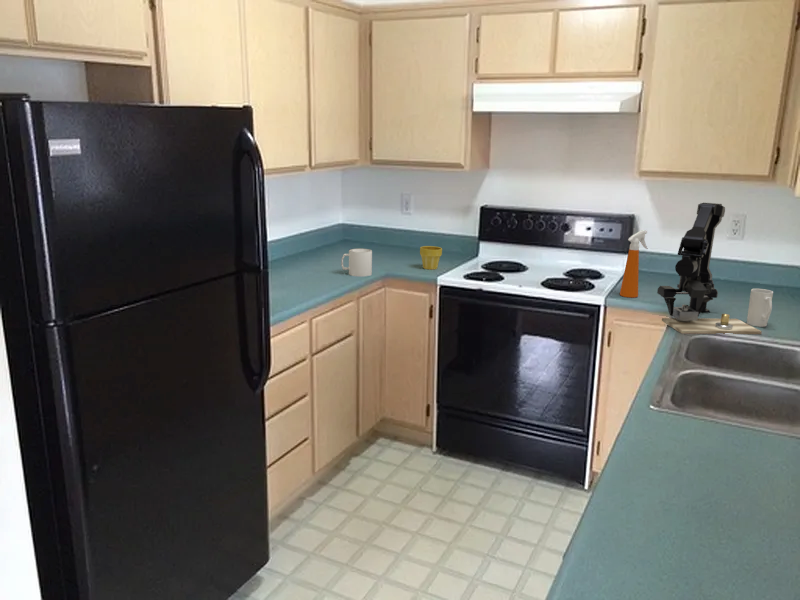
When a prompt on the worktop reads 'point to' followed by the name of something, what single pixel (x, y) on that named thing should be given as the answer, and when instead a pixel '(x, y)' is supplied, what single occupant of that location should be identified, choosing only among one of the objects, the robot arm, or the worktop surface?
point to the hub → (724, 323)
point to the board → (709, 326)
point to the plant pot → (430, 256)
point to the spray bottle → (632, 266)
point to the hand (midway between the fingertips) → (684, 315)
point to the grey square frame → (685, 314)
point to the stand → (685, 308)
